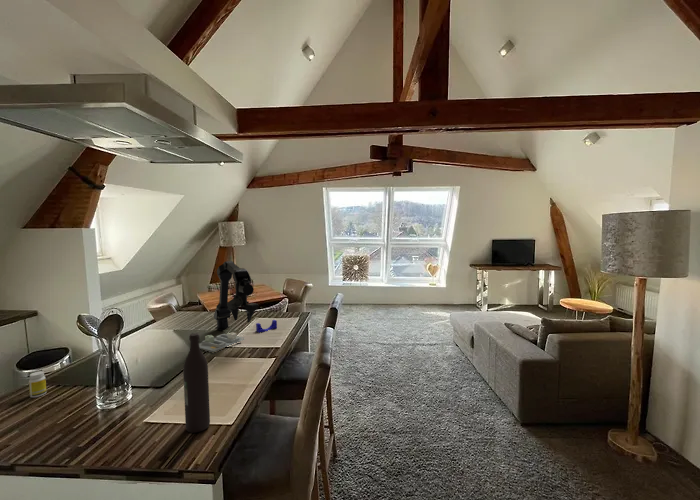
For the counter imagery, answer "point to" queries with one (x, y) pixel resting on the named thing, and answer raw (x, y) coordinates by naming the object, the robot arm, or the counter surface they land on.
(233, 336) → the tab ivory
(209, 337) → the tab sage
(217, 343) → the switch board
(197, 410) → the wine bottle
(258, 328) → the blue u-shaped bracket
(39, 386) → the supplement bottle
